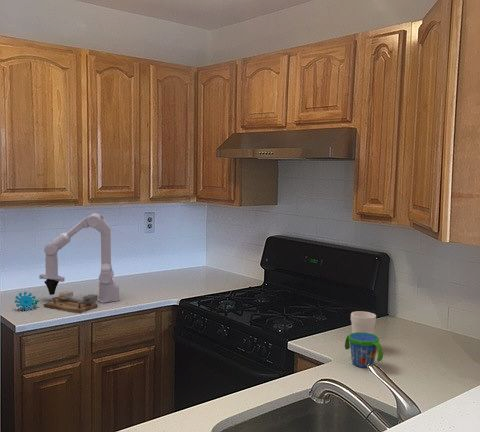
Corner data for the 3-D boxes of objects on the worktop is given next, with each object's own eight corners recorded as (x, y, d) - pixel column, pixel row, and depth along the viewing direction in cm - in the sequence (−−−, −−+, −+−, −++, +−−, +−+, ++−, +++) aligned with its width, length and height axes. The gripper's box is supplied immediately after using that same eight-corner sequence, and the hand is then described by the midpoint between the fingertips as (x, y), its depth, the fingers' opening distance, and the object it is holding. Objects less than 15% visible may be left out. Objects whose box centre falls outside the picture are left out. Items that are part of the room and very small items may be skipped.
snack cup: (336, 359, 195) (337, 332, 194) (358, 354, 201) (359, 328, 200) (367, 374, 182) (368, 345, 181) (389, 369, 187) (391, 340, 186)
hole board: (61, 301, 266) (61, 297, 266) (97, 307, 257) (97, 303, 257) (43, 307, 255) (43, 303, 255) (80, 313, 246) (80, 309, 246)
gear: (15, 309, 245) (14, 290, 251) (12, 316, 248) (11, 297, 254) (40, 309, 251) (39, 291, 257) (37, 316, 255) (36, 297, 260)
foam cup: (358, 341, 216) (360, 310, 214) (379, 347, 209) (380, 315, 208) (344, 346, 209) (346, 314, 208) (365, 353, 202) (366, 319, 201)
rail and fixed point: (63, 298, 266) (63, 290, 266) (97, 303, 258) (97, 295, 257) (46, 303, 256) (46, 295, 256) (81, 309, 248) (81, 300, 247)
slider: (66, 297, 265) (66, 290, 265) (72, 298, 264) (72, 291, 263) (49, 302, 255) (49, 295, 255) (56, 303, 254) (56, 296, 253)
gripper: (34, 267, 264) (34, 294, 265) (57, 270, 258) (57, 298, 259) (45, 264, 270) (45, 291, 272) (67, 267, 264) (67, 294, 266)
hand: (52, 294), depth 266 cm, fingers closed
